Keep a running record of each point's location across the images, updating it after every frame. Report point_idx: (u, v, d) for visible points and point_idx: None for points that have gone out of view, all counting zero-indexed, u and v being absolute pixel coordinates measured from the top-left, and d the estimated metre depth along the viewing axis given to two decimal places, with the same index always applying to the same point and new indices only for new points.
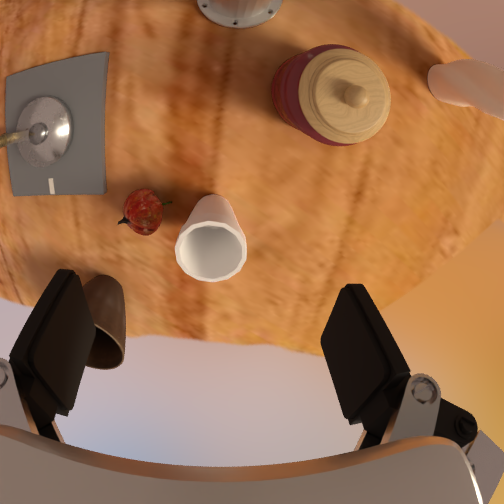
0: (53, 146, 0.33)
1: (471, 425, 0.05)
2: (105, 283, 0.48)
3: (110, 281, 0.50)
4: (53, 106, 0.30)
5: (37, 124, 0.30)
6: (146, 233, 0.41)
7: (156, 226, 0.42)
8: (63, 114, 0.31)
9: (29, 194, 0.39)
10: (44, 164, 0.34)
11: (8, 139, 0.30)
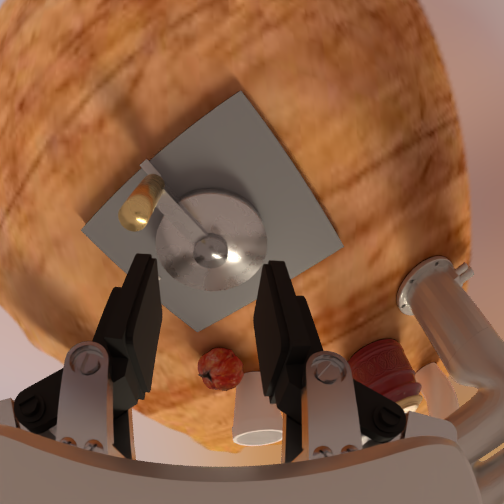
0: (209, 276, 0.32)
1: (395, 417, 0.05)
2: None
3: None
4: (258, 246, 0.30)
5: (225, 248, 0.28)
6: None
7: None
8: (257, 266, 0.31)
9: (108, 255, 0.31)
10: (177, 276, 0.31)
11: (162, 201, 0.25)
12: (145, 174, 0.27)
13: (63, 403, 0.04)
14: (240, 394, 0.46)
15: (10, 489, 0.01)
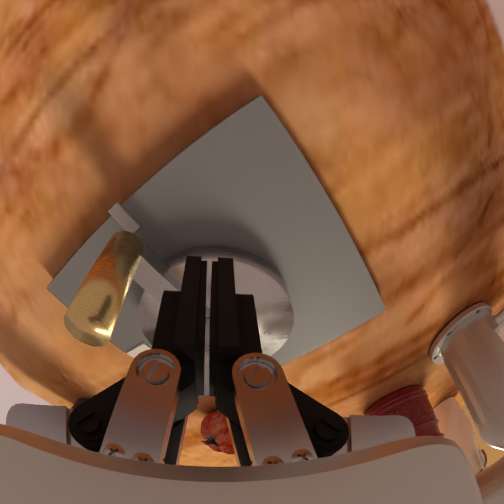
0: None
1: (336, 431, 0.05)
2: None
3: None
4: (281, 325, 0.21)
5: None
6: None
7: None
8: (278, 346, 0.22)
9: None
10: None
11: (140, 272, 0.17)
12: (117, 224, 0.18)
13: (136, 417, 0.05)
14: None
15: (10, 489, 0.01)
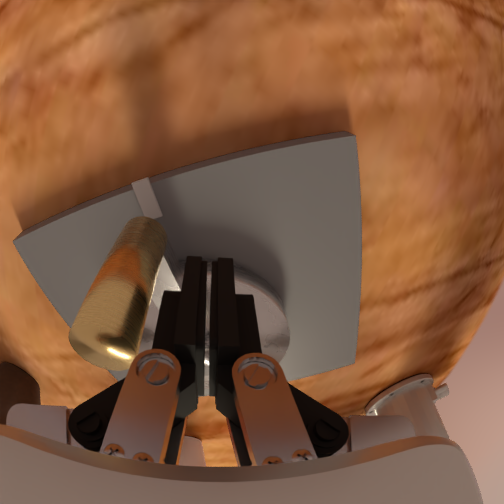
0: None
1: (335, 432, 0.05)
2: None
3: (38, 396, 0.26)
4: None
5: None
6: None
7: None
8: None
9: (44, 291, 0.17)
10: None
11: None
12: (135, 202, 0.15)
13: (136, 417, 0.05)
14: None
15: (10, 489, 0.01)
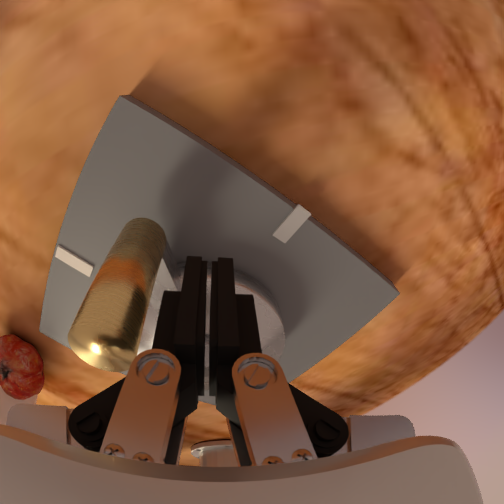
0: None
1: (335, 432, 0.05)
2: None
3: None
4: None
5: None
6: None
7: None
8: None
9: (84, 173, 0.13)
10: None
11: None
12: (281, 216, 0.16)
13: (136, 418, 0.05)
14: None
15: (10, 489, 0.01)
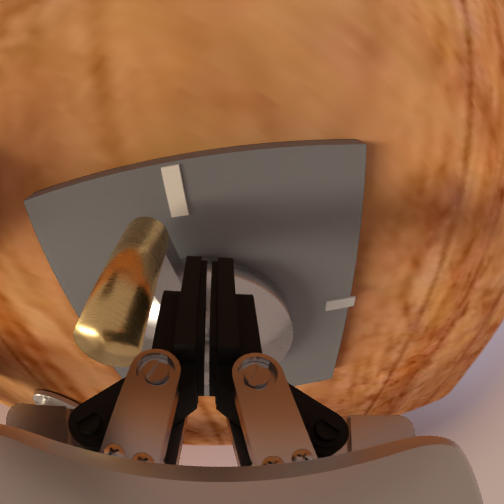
0: None
1: (335, 432, 0.05)
2: None
3: None
4: (272, 356, 0.20)
5: None
6: None
7: None
8: None
9: (284, 151, 0.14)
10: None
11: None
12: (341, 295, 0.20)
13: (136, 417, 0.05)
14: None
15: (10, 489, 0.01)
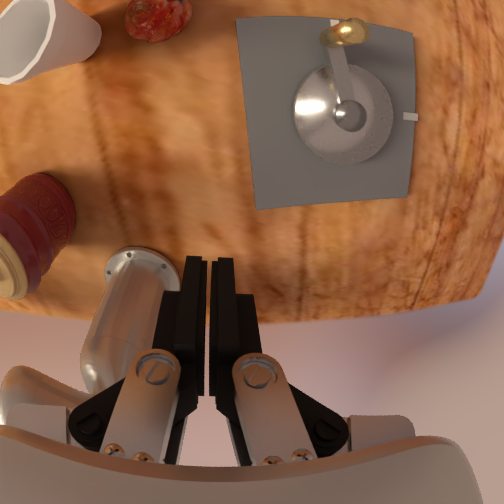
0: (331, 142, 0.29)
1: (335, 432, 0.05)
2: None
3: None
4: (382, 134, 0.28)
5: (365, 117, 0.26)
6: None
7: (130, 2, 0.17)
8: (373, 152, 0.29)
9: (381, 27, 0.22)
10: (301, 128, 0.28)
11: (336, 51, 0.22)
12: (410, 111, 0.28)
13: (136, 417, 0.05)
14: (88, 20, 0.17)
15: (10, 489, 0.01)
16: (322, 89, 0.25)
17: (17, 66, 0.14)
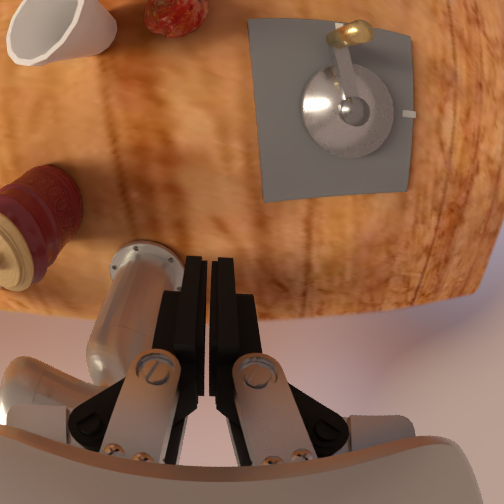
0: (337, 136, 0.30)
1: (335, 432, 0.05)
2: None
3: None
4: (383, 129, 0.30)
5: (368, 113, 0.27)
6: None
7: None
8: (375, 146, 0.31)
9: (381, 30, 0.24)
10: (309, 122, 0.29)
11: (341, 51, 0.23)
12: (409, 108, 0.30)
13: (136, 417, 0.05)
14: (107, 13, 0.18)
15: (10, 489, 0.01)
16: (328, 86, 0.27)
17: (36, 52, 0.15)
